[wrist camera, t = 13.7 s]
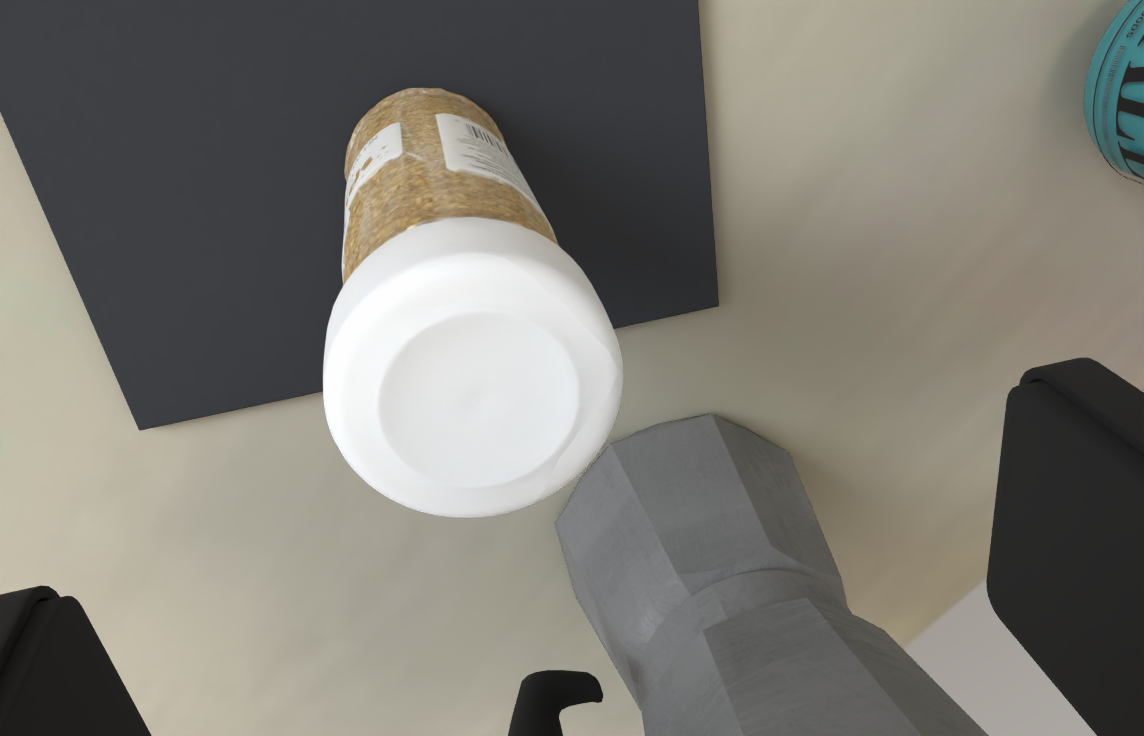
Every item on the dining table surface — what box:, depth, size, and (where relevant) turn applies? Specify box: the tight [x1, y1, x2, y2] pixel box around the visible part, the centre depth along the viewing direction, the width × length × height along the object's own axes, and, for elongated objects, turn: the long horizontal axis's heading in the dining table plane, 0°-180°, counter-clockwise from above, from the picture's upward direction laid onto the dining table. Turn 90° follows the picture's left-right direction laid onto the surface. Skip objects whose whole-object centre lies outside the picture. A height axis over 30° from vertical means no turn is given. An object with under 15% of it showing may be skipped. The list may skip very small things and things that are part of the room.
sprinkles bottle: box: [323, 88, 624, 518], centre depth 19 cm, size 5×5×14 cm
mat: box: [0, 0, 719, 430], centre depth 25 cm, size 12×18×1 cm, turn 98°
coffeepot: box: [508, 414, 988, 736], centre depth 25 cm, size 15×9×18 cm, turn 80°
